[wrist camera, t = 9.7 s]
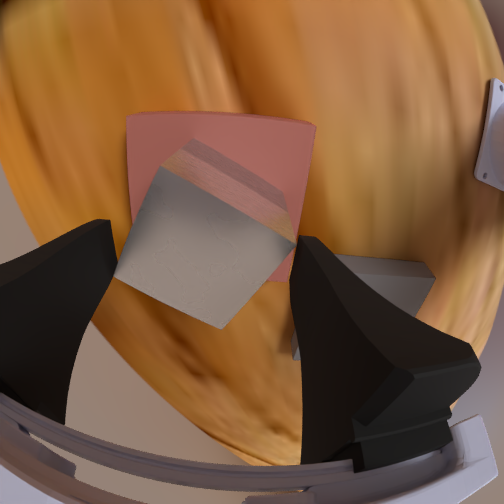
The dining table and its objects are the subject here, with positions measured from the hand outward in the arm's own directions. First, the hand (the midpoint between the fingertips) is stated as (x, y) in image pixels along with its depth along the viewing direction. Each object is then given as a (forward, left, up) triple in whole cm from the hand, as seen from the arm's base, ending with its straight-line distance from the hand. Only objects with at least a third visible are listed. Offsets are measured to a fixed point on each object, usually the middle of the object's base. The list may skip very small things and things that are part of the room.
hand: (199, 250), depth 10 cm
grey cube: (0, 0, -4) cm, 4 cm away
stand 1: (0, 0, -6) cm, 6 cm away
